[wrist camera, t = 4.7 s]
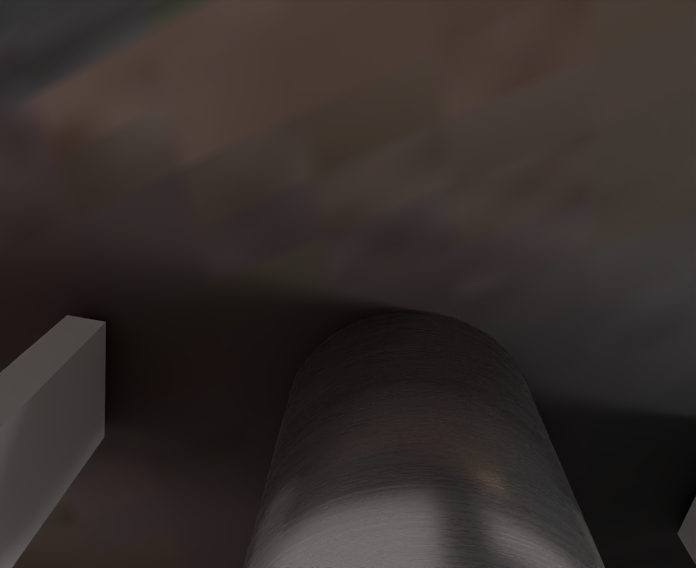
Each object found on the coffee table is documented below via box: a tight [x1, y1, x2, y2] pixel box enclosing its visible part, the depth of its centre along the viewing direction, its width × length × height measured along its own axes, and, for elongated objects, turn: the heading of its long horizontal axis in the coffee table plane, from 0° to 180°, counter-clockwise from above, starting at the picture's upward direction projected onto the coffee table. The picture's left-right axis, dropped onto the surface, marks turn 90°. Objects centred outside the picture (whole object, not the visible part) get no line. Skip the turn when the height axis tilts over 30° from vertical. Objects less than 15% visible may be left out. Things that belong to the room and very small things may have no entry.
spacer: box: [243, 311, 605, 568], centre depth 9 cm, size 5×5×7 cm
